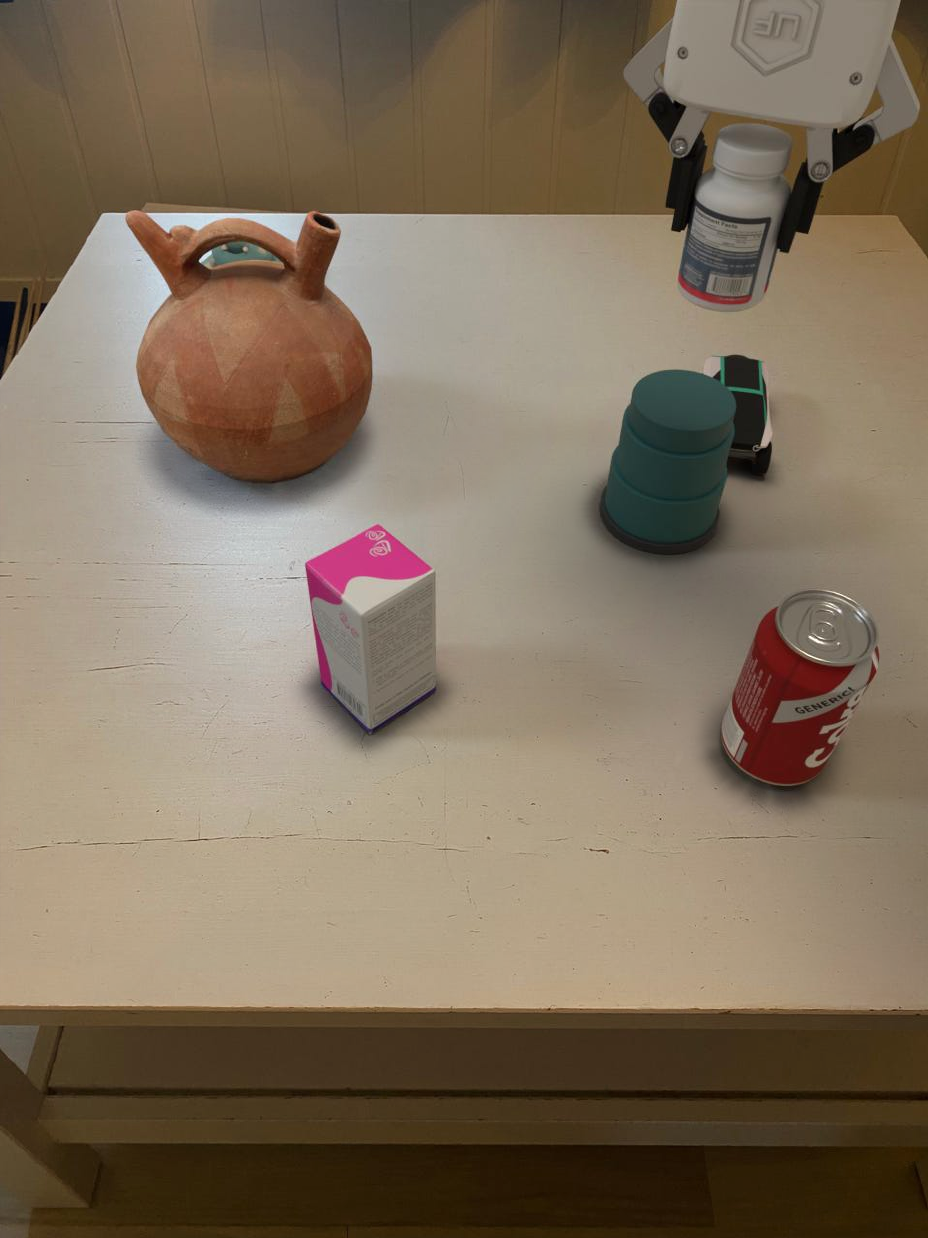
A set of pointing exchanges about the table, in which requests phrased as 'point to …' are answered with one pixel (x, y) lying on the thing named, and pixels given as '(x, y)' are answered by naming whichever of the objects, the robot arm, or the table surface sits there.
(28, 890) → the table surface
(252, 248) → the stuffed animal
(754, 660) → the soda can
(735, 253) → the pill bottle
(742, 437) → the toy car
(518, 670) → the table surface
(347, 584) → the supplement box
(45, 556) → the table surface
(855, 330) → the table surface
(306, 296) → the jug
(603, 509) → the cup stack
